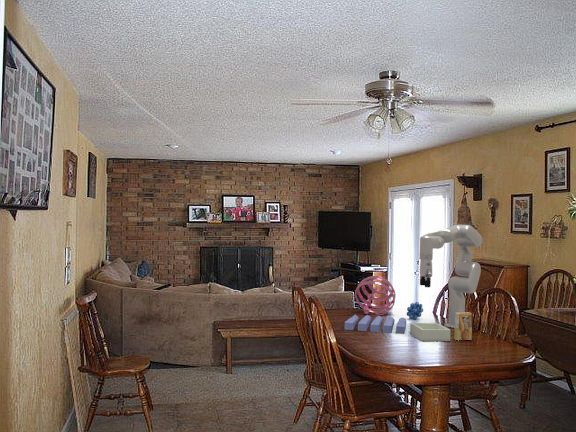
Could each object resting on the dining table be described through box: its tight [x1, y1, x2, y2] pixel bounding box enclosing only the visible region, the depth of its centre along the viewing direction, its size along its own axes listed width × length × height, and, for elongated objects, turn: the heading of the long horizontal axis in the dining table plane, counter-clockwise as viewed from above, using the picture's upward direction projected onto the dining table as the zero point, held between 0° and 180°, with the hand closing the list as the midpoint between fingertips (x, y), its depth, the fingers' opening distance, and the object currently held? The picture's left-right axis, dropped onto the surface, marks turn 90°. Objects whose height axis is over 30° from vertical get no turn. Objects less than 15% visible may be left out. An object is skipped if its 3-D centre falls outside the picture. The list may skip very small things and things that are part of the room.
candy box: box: [453, 311, 473, 342], centre depth 314 cm, size 9×4×15 cm, turn 110°
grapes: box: [406, 301, 424, 321], centre depth 378 cm, size 12×7×12 cm, turn 99°
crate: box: [409, 322, 451, 343], centre depth 319 cm, size 16×20×6 cm
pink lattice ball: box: [354, 275, 396, 317], centre depth 394 cm, size 28×28×27 cm
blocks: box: [344, 313, 407, 335], centre depth 348 cm, size 35×34×5 cm
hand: (425, 286), depth 332 cm, fingers open, 9 cm apart
